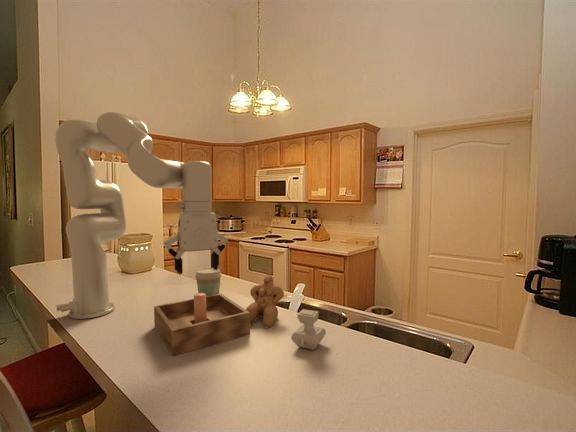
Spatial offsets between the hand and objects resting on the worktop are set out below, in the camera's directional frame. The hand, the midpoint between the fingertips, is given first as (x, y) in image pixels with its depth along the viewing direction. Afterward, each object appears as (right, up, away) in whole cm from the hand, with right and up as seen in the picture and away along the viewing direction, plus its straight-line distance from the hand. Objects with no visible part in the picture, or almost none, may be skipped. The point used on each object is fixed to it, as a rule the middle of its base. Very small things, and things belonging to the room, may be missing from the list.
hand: (197, 270), depth 87 cm
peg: (+1, -17, +1) cm, 17 cm away
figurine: (+17, -16, +8) cm, 25 cm away
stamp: (+30, -17, -8) cm, 36 cm away
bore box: (+1, -17, +1) cm, 17 cm away
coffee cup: (-2, -16, +21) cm, 26 cm away
